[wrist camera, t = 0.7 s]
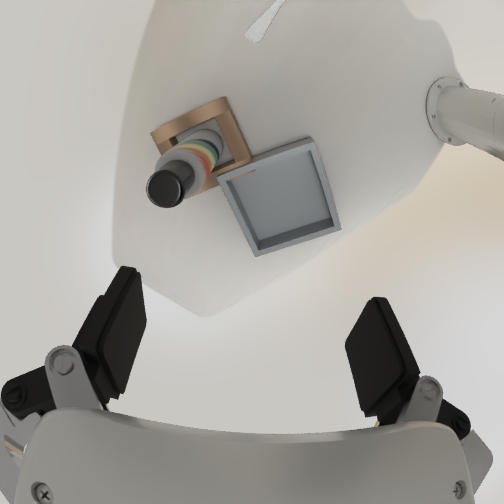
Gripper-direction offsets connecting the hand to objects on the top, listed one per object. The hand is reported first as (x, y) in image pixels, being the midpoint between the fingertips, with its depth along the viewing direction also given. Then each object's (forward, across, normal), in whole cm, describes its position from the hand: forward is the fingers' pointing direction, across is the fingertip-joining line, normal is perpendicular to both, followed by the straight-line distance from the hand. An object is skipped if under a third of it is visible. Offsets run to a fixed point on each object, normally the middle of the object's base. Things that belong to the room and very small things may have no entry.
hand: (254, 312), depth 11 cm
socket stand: (+35, +7, +1) cm, 36 cm away
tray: (+35, -6, +8) cm, 36 cm away
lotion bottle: (+35, +7, +1) cm, 36 cm away
